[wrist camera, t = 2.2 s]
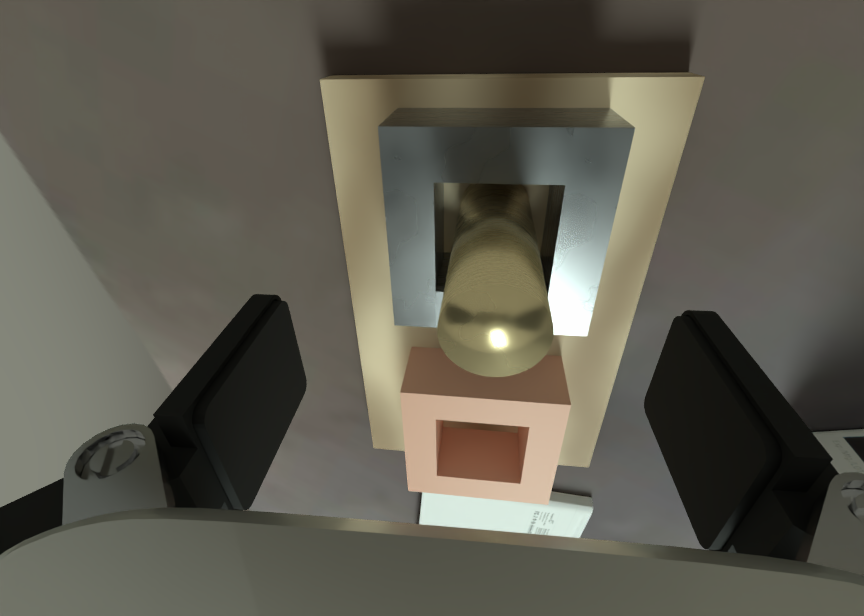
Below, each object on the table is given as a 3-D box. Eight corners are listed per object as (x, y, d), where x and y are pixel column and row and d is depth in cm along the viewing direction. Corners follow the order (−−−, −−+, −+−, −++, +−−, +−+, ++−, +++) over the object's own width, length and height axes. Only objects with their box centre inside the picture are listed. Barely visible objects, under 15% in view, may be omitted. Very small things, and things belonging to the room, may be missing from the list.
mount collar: (610, 107, 16) (635, 127, 13) (574, 291, 20) (587, 336, 18) (397, 107, 17) (377, 126, 14) (407, 283, 21) (394, 325, 18)
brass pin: (533, 174, 18) (561, 287, 10) (526, 241, 19) (545, 380, 12) (460, 173, 18) (436, 282, 11) (459, 239, 20) (437, 373, 12)
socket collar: (561, 355, 23) (571, 405, 20) (542, 453, 27) (548, 504, 24) (411, 346, 23) (400, 392, 21) (417, 442, 28) (408, 490, 25)
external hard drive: (425, 465, 33) (590, 490, 32) (419, 523, 37) (563, 546, 37) (422, 484, 31) (594, 511, 31) (416, 541, 36) (566, 566, 35)
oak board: (689, 72, 16) (705, 76, 15) (584, 447, 29) (588, 467, 27) (332, 75, 18) (319, 79, 17) (378, 430, 30) (373, 448, 29)
